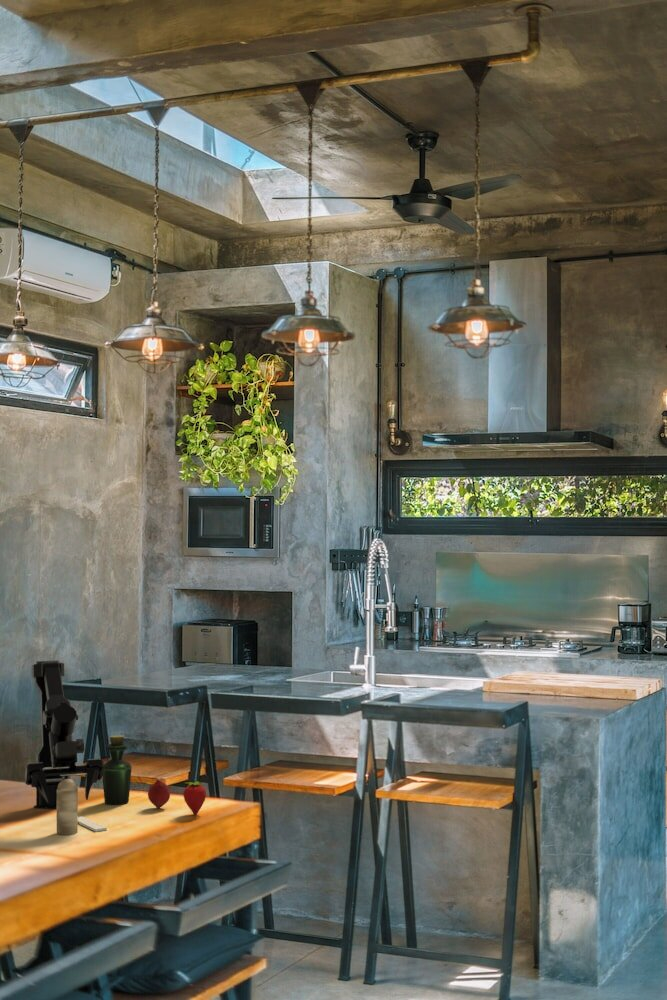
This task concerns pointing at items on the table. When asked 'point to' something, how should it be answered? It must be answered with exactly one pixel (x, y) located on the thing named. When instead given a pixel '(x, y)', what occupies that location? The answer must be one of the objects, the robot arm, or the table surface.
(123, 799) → the potion bottle
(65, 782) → the skittle
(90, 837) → the table surface
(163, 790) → the onion
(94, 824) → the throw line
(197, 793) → the strawberry
